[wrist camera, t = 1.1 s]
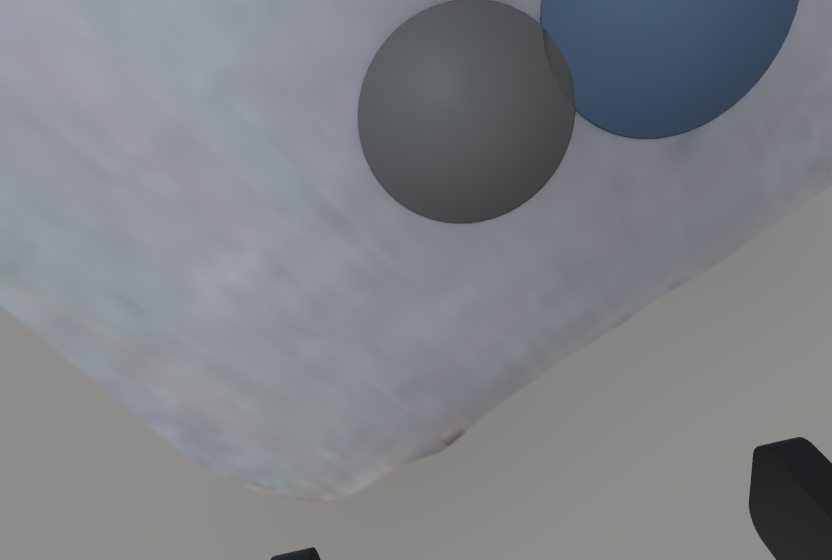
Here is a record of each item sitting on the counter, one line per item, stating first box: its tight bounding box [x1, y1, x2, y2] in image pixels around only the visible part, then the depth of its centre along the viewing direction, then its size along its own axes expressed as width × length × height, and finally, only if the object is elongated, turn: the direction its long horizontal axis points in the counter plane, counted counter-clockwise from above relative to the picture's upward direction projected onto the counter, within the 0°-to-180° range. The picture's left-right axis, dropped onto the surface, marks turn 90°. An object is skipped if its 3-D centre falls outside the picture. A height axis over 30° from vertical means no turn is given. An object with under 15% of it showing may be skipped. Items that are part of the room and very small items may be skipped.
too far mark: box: [358, 0, 575, 223], centre depth 33 cm, size 12×12×1 cm
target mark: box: [541, 0, 799, 138], centre depth 31 cm, size 14×14×1 cm
